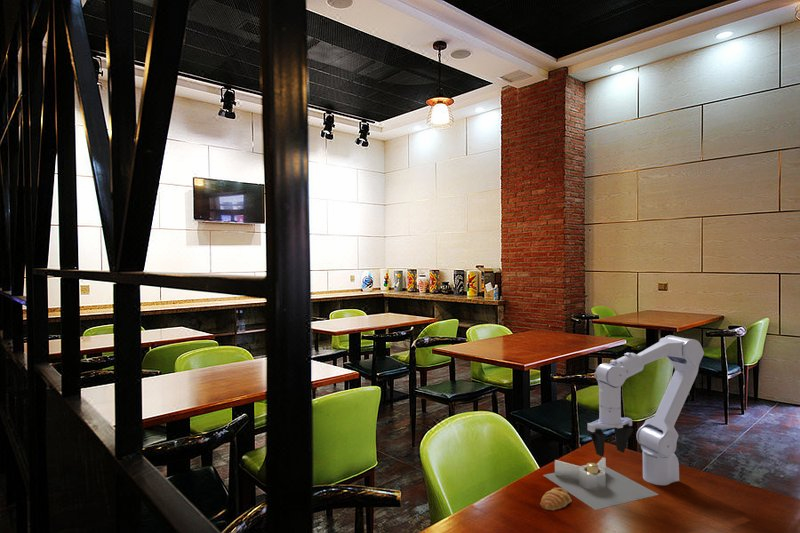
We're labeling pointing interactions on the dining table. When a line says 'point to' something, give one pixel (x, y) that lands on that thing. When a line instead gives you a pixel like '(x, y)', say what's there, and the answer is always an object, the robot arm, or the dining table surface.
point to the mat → (614, 493)
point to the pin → (592, 468)
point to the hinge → (583, 474)
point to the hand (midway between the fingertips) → (610, 453)
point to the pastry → (555, 499)
